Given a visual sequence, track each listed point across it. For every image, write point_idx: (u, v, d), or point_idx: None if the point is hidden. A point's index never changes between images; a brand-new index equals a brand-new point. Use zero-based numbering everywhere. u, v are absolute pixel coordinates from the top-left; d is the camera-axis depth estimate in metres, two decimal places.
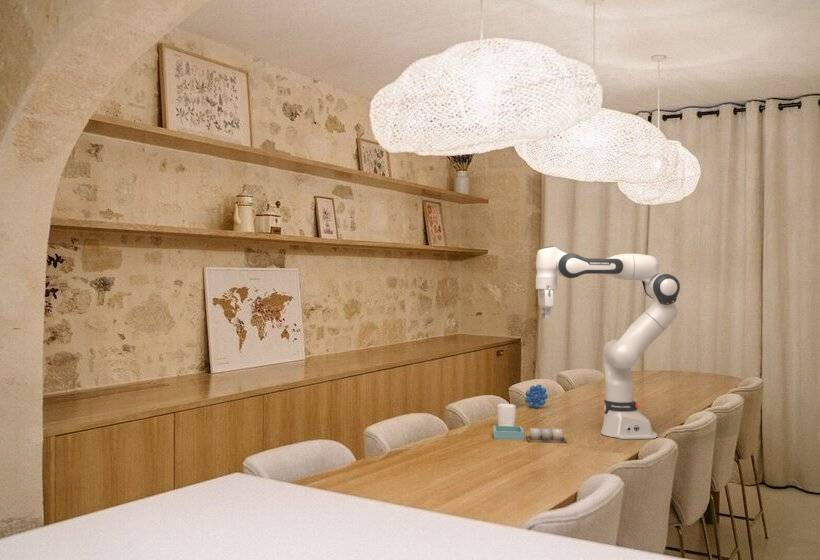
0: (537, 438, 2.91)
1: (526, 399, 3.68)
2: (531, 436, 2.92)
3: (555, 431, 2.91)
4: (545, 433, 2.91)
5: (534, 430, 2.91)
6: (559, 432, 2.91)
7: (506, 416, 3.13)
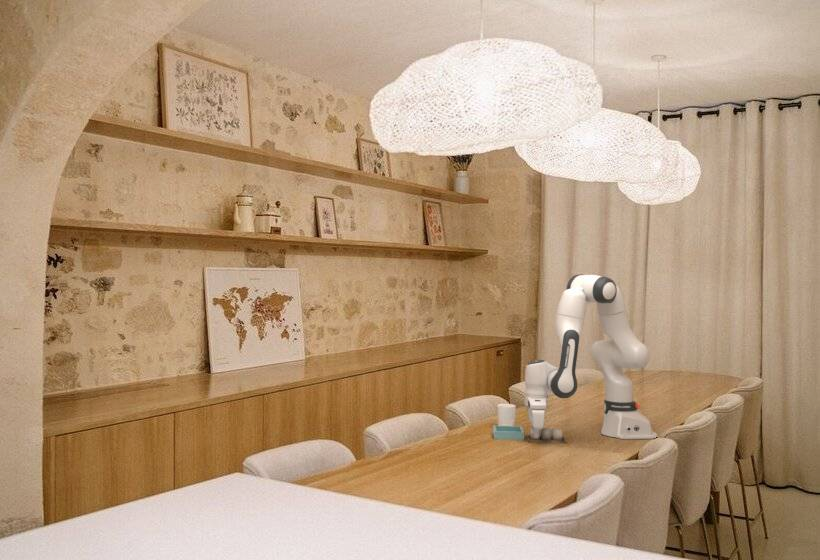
0: (537, 438, 2.91)
1: None
2: (531, 436, 2.92)
3: (555, 431, 2.91)
4: (545, 433, 2.91)
5: None
6: (559, 432, 2.91)
7: (506, 416, 3.13)
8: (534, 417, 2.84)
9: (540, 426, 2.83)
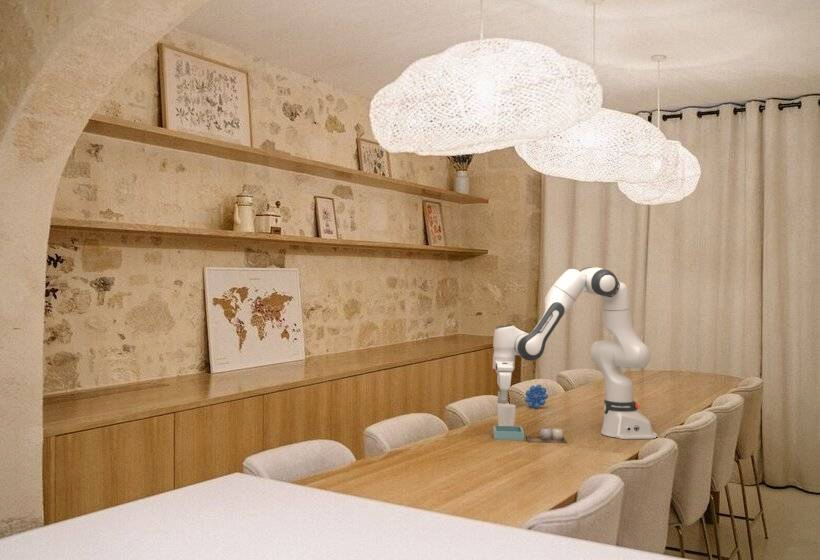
0: (504, 401, 2.97)
1: (526, 399, 3.68)
2: (498, 399, 2.98)
3: (555, 431, 2.91)
4: (545, 433, 2.91)
5: None
6: (559, 432, 2.91)
7: (506, 416, 3.13)
8: (501, 379, 2.89)
9: (507, 388, 2.89)
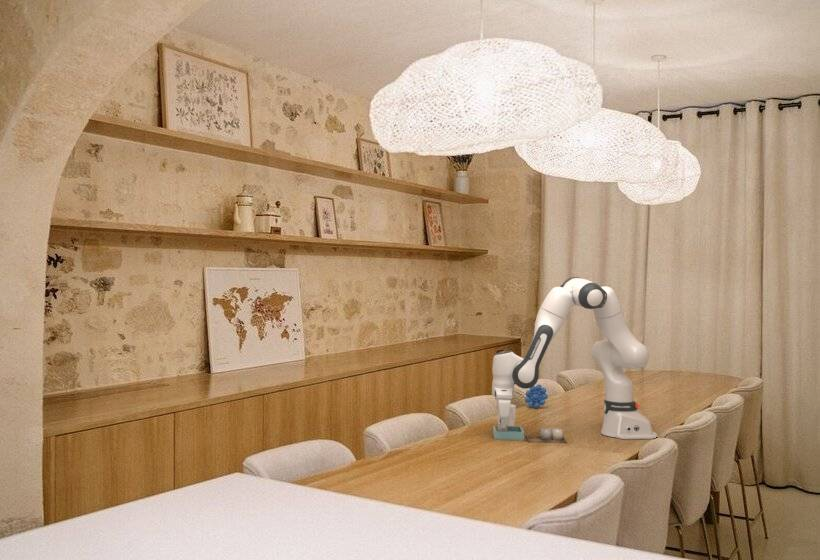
0: None
1: (526, 399, 3.68)
2: None
3: (555, 431, 2.91)
4: (545, 433, 2.91)
5: None
6: (559, 432, 2.91)
7: None
8: (500, 406, 2.90)
9: (506, 415, 2.89)
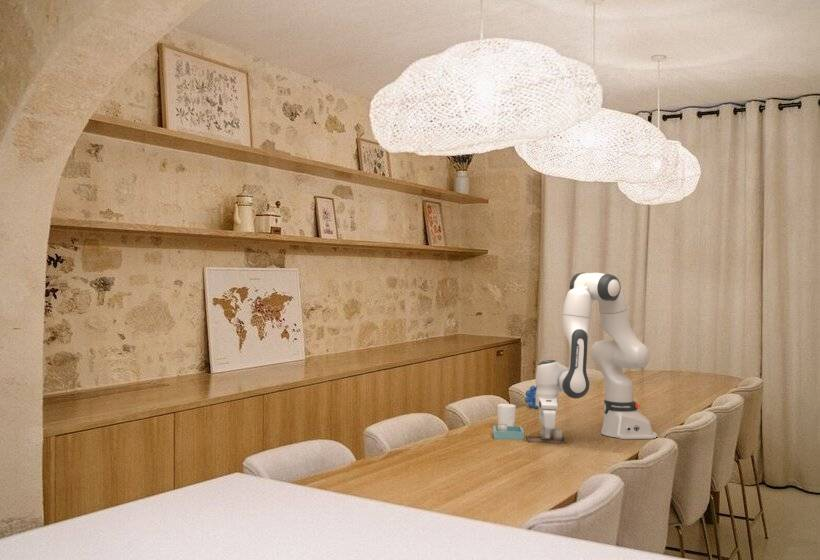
0: None
1: (526, 399, 3.68)
2: None
3: (555, 431, 2.91)
4: None
5: (501, 426, 2.98)
6: (559, 432, 2.91)
7: (506, 416, 3.13)
8: (545, 417, 2.83)
9: (551, 426, 2.83)
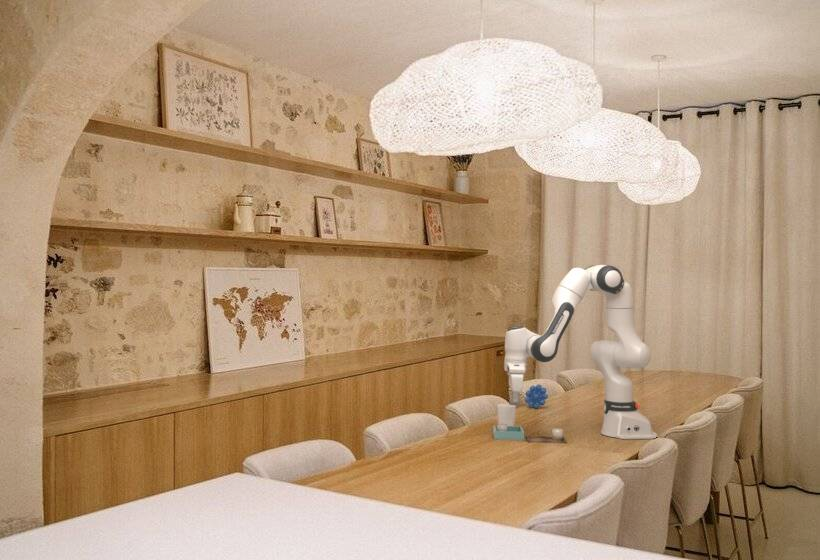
0: None
1: (526, 399, 3.68)
2: None
3: (555, 431, 2.91)
4: None
5: (500, 426, 2.98)
6: (559, 432, 2.91)
7: (506, 416, 3.13)
8: (513, 381, 2.89)
9: (519, 390, 2.89)
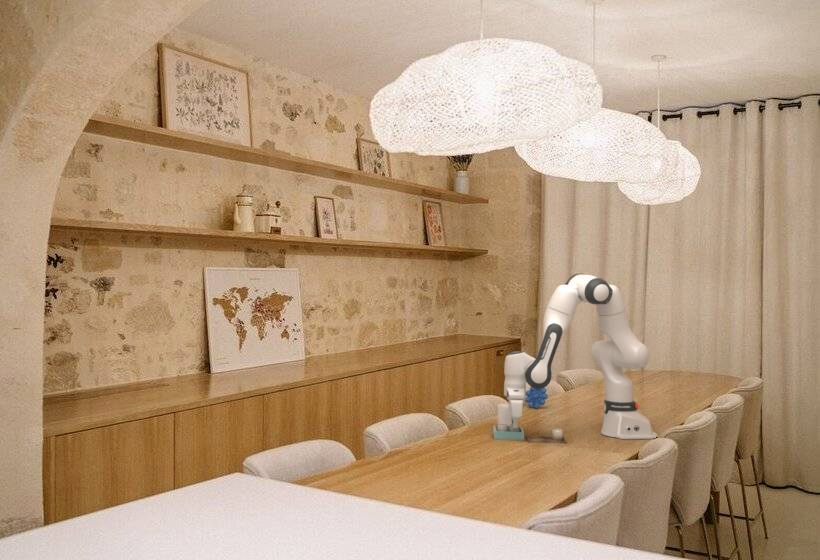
0: None
1: (526, 399, 3.68)
2: None
3: (555, 431, 2.91)
4: (513, 429, 2.97)
5: (500, 426, 2.98)
6: (559, 432, 2.91)
7: (506, 416, 3.13)
8: (512, 407, 2.90)
9: (518, 416, 2.89)
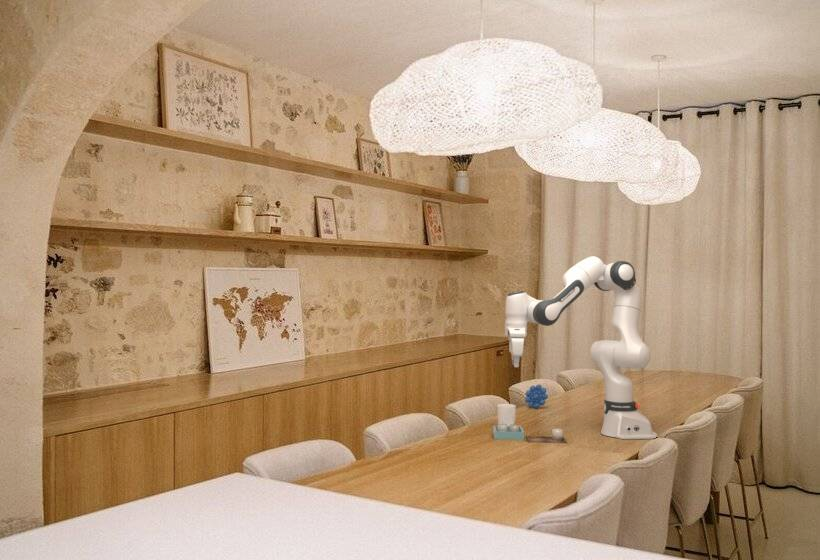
0: None
1: (526, 399, 3.68)
2: None
3: (555, 431, 2.91)
4: (513, 429, 2.97)
5: (500, 426, 2.98)
6: (559, 432, 2.91)
7: (506, 416, 3.13)
8: (513, 345, 2.89)
9: (519, 353, 2.89)
